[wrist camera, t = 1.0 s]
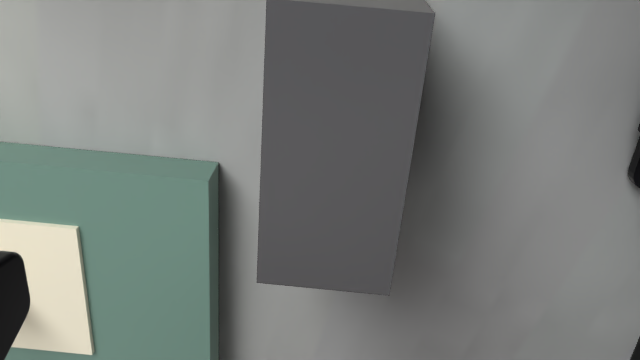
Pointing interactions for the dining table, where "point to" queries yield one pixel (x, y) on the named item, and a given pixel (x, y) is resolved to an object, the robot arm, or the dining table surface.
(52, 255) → the header board
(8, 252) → the robot arm
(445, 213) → the dining table surface
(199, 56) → the dining table surface
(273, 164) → the block
